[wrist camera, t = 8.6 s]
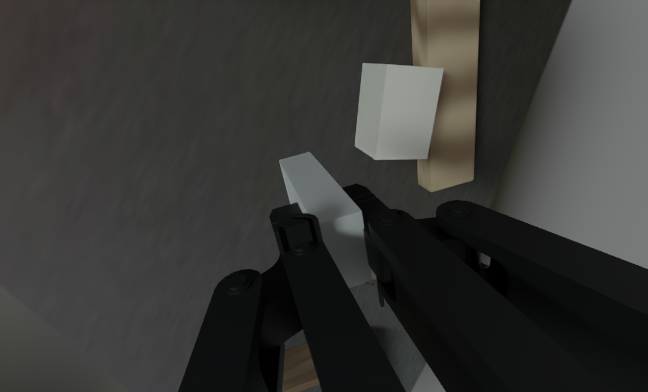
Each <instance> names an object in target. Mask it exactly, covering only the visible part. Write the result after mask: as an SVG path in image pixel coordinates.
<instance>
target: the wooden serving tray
mask: <svg viewBox="0 0 648 392" xmlns="http://www.w3.org/2000/svg"><path fill="white" fill-rule="evenodd" d="M318 384H320V383H319V380H318V377H317V374H316V370H315V367H314V364H313V360H312V357H311V354H310V351H309V347H308V344H307V343H305V344H302V345H299V346H296V347H294V348H291V349H288V350H285V357H284V372H283V388H282V392H300V391H303V390H305V389H308V388H310V387H313V386H316V385H318Z"/></svg>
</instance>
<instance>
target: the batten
mask: <svg viewBox="0 0 648 392" xmlns="http://www.w3.org/2000/svg"><path fill="white" fill-rule="evenodd" d="M410 2H411V25H412V49H413V66H417V67H432V68H444V70H443V76H442V81H441V87H440V92H439V97H438V103H437V108H436V114H435V119H434V124H433V130H432V135H431V141H430V146H429V152H428V157H427V159H417V166H418V184H419V185H421V186H422V187H424V188H425V189H427V190H428V191H430V192H434V191H437V190H441V189H444V188H448V187H451V186H455V185H458V184H462V183H465V182H469V181H472V180H474V153H475V125H476V97H477V70H478V42H479V14H480V0H410Z"/></svg>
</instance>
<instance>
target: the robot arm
mask: <svg viewBox="0 0 648 392" xmlns="http://www.w3.org/2000/svg"><path fill="white" fill-rule="evenodd" d="M279 162H280V166H281V170H282V174H283V178H284V181H285V185H286V189H287V193H288V197H289V201H290V204H289V205H286V206H283V207H279V208H276V209H273V210H272V212H271V215H270V220H271V224H272V227H273V230H274V234H275V237H276V241H277V244H278V247H279V251H280V256H279V259H278V261H277V262H276V263H275V264H274V265H273V266H272V267H271V268H270V269H268V270H267V271H265V272H264V273H262V274H260V273H259V272H258V271H256V270H252V269H244V270H240V271H236V272H233V273H231V274H230V275H228V276H226V277H225V278H224V279H222V280H221V281H220V282H219V283H218V285H217V286H216V288H215V290H214V293H213V295H212V298H211V301H210V304H209V307H208V309H207V312H206V315H205V318H204V321H203V323H202V326H201V329H200V332H199V335H198V338H197V340H196V343H195V346H194V349H193V352H192V354H191V357H190V360H189V363H188V366H187V368H186V371H185V374H184V377H183V380H182V382H181V385H180V388H179V391H178V392H282V388H283V372H284V357H285V344H284V342H285V341H286V340H288V339H289V338H291V337H292V336H294V335H295V334H296V333H298V332H299V331H301V330H302V329H303V331H304V334H305V337H306V341H307V344H308V347H309V351H310V354H311V357H312V360H313V364H314V367H315V370H316V374H317V377H318V380H319V383H320V387H321V390H322V392H406V391H405V389H404V388H403V386H402V384H401V382H400V380H399V378H398V377H397V375H396V373H395V371H394V369H393V368H392V366H391V364H390V362H389V360H388V358H387V357H386V355H385V353H384V351H383V349H382V347H381V346H380V344H379V342H378V340H377V338H376V337H375V335H374V333H373V331H372V329H371V327H370V326H369V324H368V322H367V320H366V318H365V317H364V315H363V313H362V311H361V309H360V307H359V306H358V304H357V302H356V300H355V298H354V296H353V295H352V293H351V291H350V289H349V288H352V287H354V286H357V285H360V284H363V283H366V282H369V281H371V280H372V276H371V270H370V268H371V269H372V271H373V272H374V274H375V275H376V280H377V287H378V294H379V301H380V305H381V307H384V298H385V300H386V301H387V303H388V304H389V306H390V308H391V309H392V311H393V312H394V314H395V315H396V317H397V318H398V320H399V321H400V323H401V324H402V326H403V327H404V329H405V330H406V332H407V333H408V335H409V336H410V338H411V339H412V341H413V342H414V344H415V345H416V347H417V348H418V350H419V351H420V353H421V354H422V356H423V357H424V359H425V361H426V362H427V364H428V365H429V367H430V368H431V369H432V371H433V373H434V374H435V376H436V377H437V379H438V380H439V382H440V383H441V385H442V386H443V388H444V389H445V391H446V392H648V269H646V268H643V267H641V266H638V265H635V264H633V263H630V262H628V261H625V260H622V259H620V258H617V257H614V256H612V255H609V254H607V253H604V252H601V251H599V250H596V249H593V248H591V247H588V246H586V245H583V244H580V243H578V242H575V241H572V240H570V239H567V238H565V237H562V236H559V235H557V234H554V233H551V232H549V231H546V230H543V229H541V228H538V227H535V226H533V225H530V224H528V223H525V222H523V221H520V220H517V219H515V218H512V217H509V216H507V215H504V214H502V213H499V212H496V211H494V210H491V209H488V208H486V207H483V206H481V205H478V204H475V203H472V202H468V201H460V200H454V201H448V202H446V203H443V204H441V205H440V206H438V207H437V210H436V217H434V218H425V219H414V218H413V217H412V216H410V215H409V214H408V213H406V212H404V211H402V210H397V209H389V208H388V207H387V206H386V205H385V204H384V203H382V202H381V201H380V200H379V199H378V198H376V196H375V195H374V194H373V193H371V191H370V190H369V189H367V188H366V187H364V186H361V185H358V184H354V185H350V186H347V187H343V188H341V187H340V186H339V185H338V184H337V182H336V181H335V180H334V179H333V178H332V177H331V176H330V175H329V173H328V172H327V171H326V170H325V169H324V168H323V167H322V166H321V164H320V163H319V162H318V161H317V160H316V159H315V158H314V156H313V155H312V154H311V153H310V152H307V153H304V154H300V155H296V156H292V157H289V158H285V159H281V160H279ZM481 253H483V254H485V255H487V256H489V257H491V261H490V266H488V265H485V264H483V263H481Z"/></svg>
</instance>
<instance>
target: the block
mask: <svg viewBox="0 0 648 392" xmlns="http://www.w3.org/2000/svg"><path fill="white" fill-rule="evenodd" d="M443 70H444V68H432V67H417V66H403V65H389V64H368V63H363V67H362V77H361V87H360V97H359V107H358V118H357V128H356V138H355V147H357V148H358V149H360V150H361V151H363V152H364V153H366V154H367V155H369V156H370V157H372V158H373V159H375V160H397V159H427V157H428V152H429V146H430V141H431V135H432V130H433V124H434V119H435V114H436V108H437V103H438V97H439V92H440V87H441V81H442V76H443Z"/></svg>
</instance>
